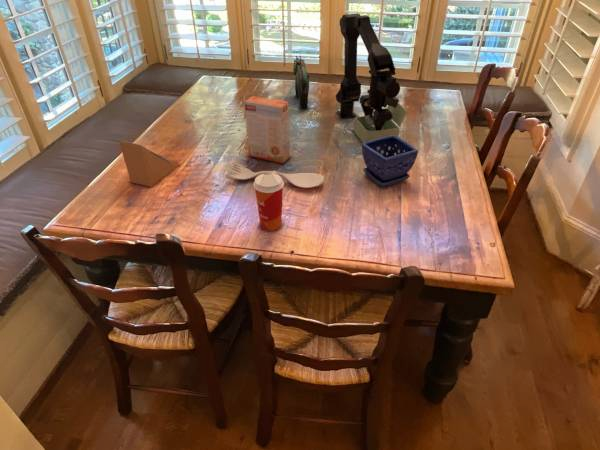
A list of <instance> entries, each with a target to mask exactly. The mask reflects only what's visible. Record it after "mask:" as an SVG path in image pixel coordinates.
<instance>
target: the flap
mask: <svg viewBox="0 0 600 450" xmlns="http://www.w3.org/2000/svg"><path fill="white" fill-rule="evenodd" d="M386 108H387V109H388V110H389V111H390V112H391V113H392V114H393V117H392V121H393V122H394V123H395V124H396V125H397V126H398V127H399V128H400V127H401V126H402V124H403V122H404V120H405V117H406V116H407V113H408V110H407V109H406V108H405V107H404V106H403V105H401V104H400V103H399V102H398V104H397V107H396V108H394V107H392V106H388V105H387V107H386Z"/></svg>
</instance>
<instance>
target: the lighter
mask: <svg viewBox="0 0 600 450" xmlns="http://www.w3.org/2000/svg"><path fill="white" fill-rule="evenodd" d="M365 119H366V122H367V125H368V127H371V126H372V128H371V131H376V130H375V126H374V125H373V123H372V121H371V118H370V115H368V116H366V117H365ZM381 130H383V127H382V129H381Z"/></svg>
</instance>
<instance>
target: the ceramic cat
mask: <svg viewBox="0 0 600 450" xmlns="http://www.w3.org/2000/svg"><path fill="white" fill-rule="evenodd" d="M292 72H293V75H295V78H294V79H295V80H294V91H295V92H294V93H295V98H298V102H299V109H300V110H303V111H304V110H307V109H308V103H309V93H310V74H309V72H308V71H307V67H306V63H305V59H303V58H302V55H299V57H298V56H297V55H296V56H295V59H294V60H293V69H292Z"/></svg>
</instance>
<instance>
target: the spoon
mask: <svg viewBox="0 0 600 450" xmlns="http://www.w3.org/2000/svg"><path fill="white" fill-rule="evenodd" d="M231 166H232V168H231V170H230V172H228V173H226V174H224V176H225V178H227V179H231V180H232V179H233V180H244V181H245V180H250V179H253V178H256V177H257V176H259V175H261V174H269V173H270V175H271V174H272V173H274V174H277V175H279V176H280V177H281V178H285V179H286V180H287V181H288V182H289V183H290V184H292V185H293V186H296V187H298V188H304V189H309V188H316V187H318V186H321V185H322V184H324V181H325V177H324V175H322V174H319V173H315V172H299V173H298V172H296V173H285V172H279V171H277V170H260V171H257V172H254V171H252V170H251V169H249V168H247V167H245V166H243V165H241V164H239V163H237V162H233V163H232V165H231Z"/></svg>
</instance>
